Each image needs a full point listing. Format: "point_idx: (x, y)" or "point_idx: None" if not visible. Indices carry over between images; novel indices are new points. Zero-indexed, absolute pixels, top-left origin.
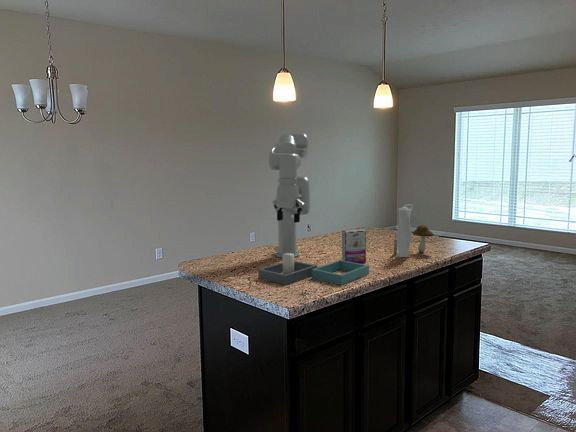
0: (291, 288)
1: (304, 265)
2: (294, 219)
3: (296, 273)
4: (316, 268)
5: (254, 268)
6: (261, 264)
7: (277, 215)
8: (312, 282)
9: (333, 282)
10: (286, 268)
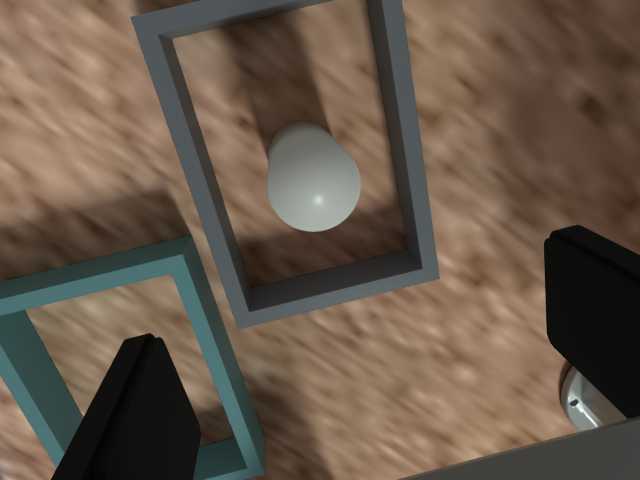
0: (64, 5)
1: (316, 289)
2: (122, 369)
3: (172, 133)
4: (183, 287)
5: (568, 89)
6: (601, 176)
7: (637, 264)
8: (115, 189)
9: (45, 271)
10: (284, 134)
